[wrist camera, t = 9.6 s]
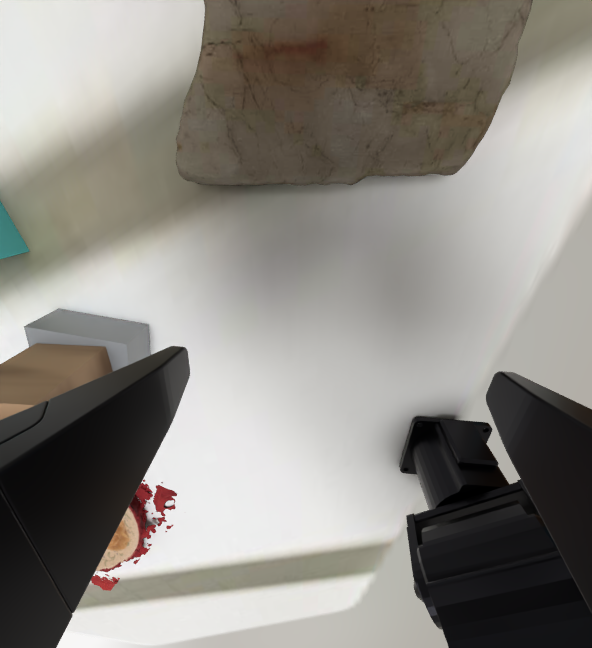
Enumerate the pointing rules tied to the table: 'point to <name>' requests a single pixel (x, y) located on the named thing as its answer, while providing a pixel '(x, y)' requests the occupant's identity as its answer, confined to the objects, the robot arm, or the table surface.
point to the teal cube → (9, 236)
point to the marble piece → (344, 88)
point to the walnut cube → (48, 374)
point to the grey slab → (93, 334)
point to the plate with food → (132, 533)
